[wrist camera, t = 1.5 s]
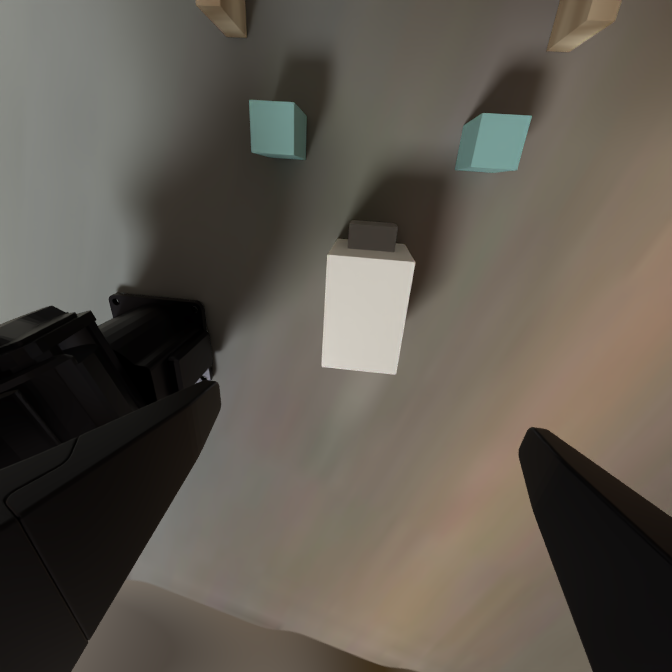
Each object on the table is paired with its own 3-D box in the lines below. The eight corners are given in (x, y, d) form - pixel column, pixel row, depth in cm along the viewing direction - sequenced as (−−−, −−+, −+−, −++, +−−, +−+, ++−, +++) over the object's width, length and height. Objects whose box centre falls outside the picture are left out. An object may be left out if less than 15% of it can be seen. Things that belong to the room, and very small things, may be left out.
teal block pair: (269, 157, 17) (251, 152, 15) (268, 113, 17) (249, 99, 14) (493, 172, 17) (516, 170, 14) (504, 127, 16) (531, 115, 13)
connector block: (331, 329, 22) (321, 366, 17) (338, 217, 18) (328, 227, 14) (390, 334, 21) (395, 374, 17) (407, 222, 18) (420, 234, 14)
